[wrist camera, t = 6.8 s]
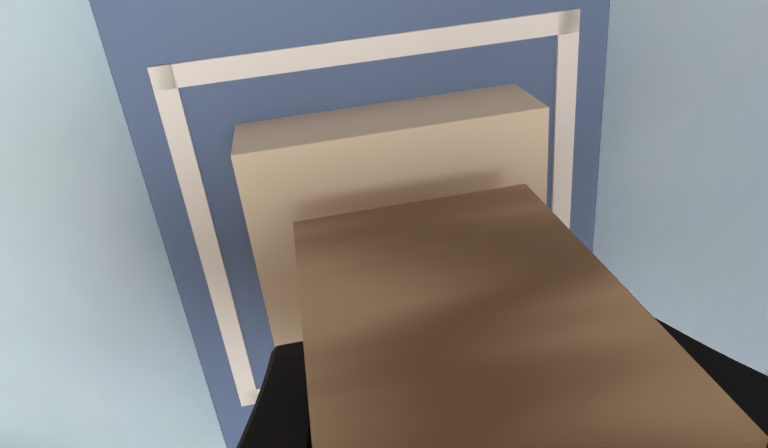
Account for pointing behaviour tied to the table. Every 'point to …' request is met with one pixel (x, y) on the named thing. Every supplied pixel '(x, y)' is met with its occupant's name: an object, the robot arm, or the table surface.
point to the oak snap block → (489, 337)
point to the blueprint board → (287, 94)
